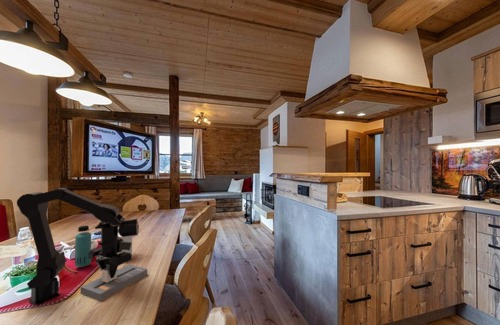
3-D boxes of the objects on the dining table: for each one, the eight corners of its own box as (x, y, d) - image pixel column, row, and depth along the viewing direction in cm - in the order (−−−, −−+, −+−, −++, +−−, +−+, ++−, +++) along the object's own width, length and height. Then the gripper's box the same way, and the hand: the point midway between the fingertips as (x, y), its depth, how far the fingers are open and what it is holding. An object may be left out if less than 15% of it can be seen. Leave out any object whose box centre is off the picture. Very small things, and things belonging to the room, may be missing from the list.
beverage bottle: (89, 263, 105) (89, 223, 106) (93, 266, 101) (93, 225, 102) (72, 267, 100) (73, 226, 101) (76, 272, 96) (76, 228, 97)
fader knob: (106, 285, 82) (107, 270, 82) (102, 284, 83) (102, 269, 83) (117, 280, 85) (117, 266, 85) (112, 279, 86) (112, 264, 86)
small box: (111, 259, 110) (111, 234, 110) (123, 254, 115) (123, 231, 115) (120, 262, 106) (120, 236, 106) (132, 257, 111) (132, 233, 111)
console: (100, 301, 75) (100, 293, 75) (80, 293, 80) (80, 286, 80) (147, 274, 93) (147, 268, 93) (129, 269, 98) (129, 264, 98)
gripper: (143, 234, 88) (143, 271, 88) (114, 230, 95) (114, 264, 95) (117, 243, 78) (117, 285, 77) (87, 237, 85) (87, 276, 85)
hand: (109, 276), depth 84 cm, fingers closed on fader knob, 3 cm apart
